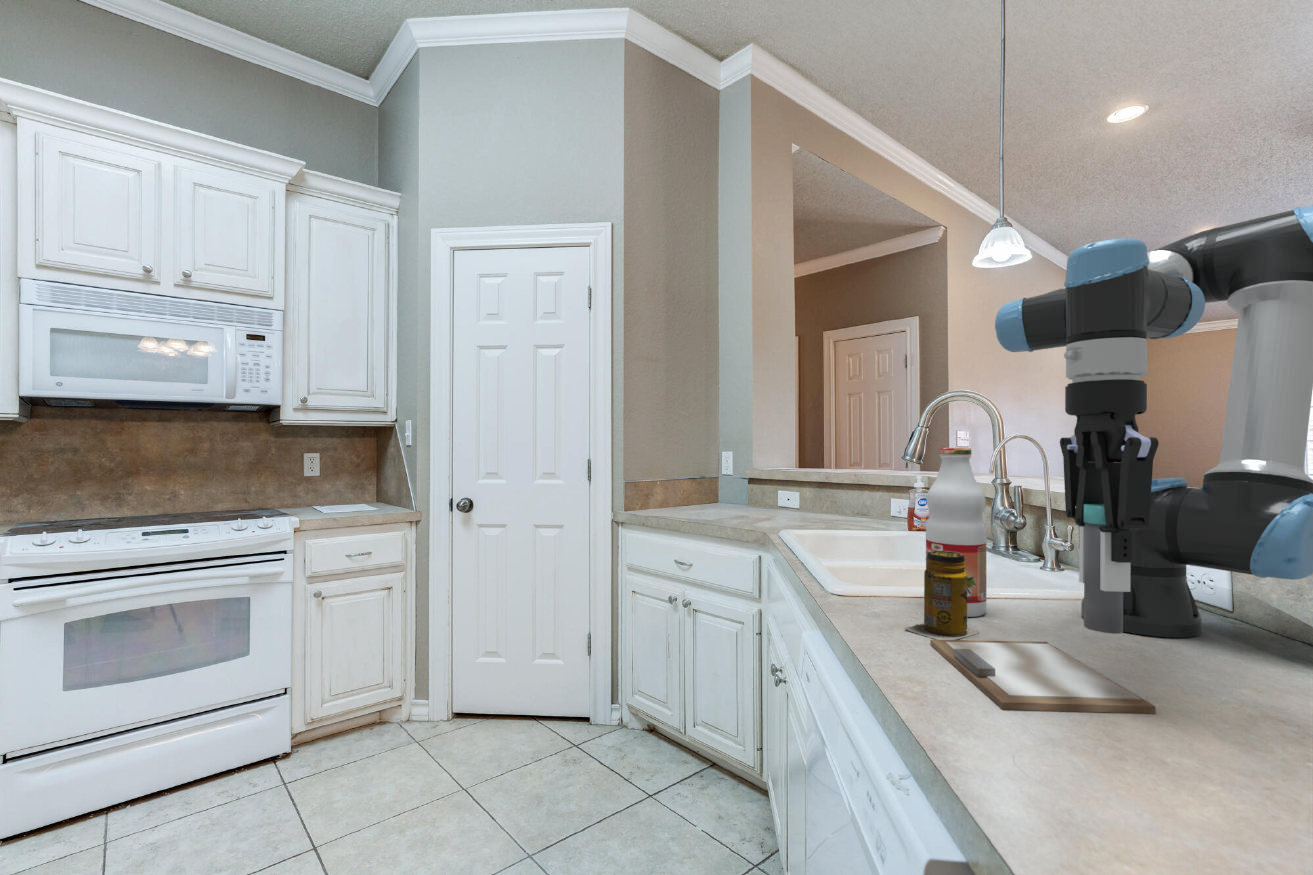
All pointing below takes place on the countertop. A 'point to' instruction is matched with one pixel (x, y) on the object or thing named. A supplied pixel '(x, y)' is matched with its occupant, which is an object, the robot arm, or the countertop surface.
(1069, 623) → the countertop surface
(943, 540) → the fruit juice
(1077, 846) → the countertop surface
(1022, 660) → the clipboard
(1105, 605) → the marker
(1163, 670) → the countertop surface
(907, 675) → the countertop surface
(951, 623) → the condiment
